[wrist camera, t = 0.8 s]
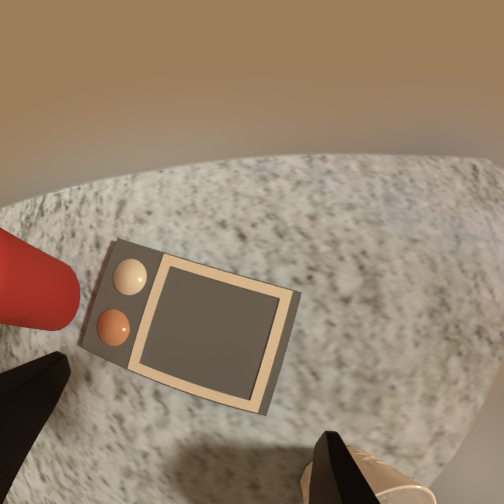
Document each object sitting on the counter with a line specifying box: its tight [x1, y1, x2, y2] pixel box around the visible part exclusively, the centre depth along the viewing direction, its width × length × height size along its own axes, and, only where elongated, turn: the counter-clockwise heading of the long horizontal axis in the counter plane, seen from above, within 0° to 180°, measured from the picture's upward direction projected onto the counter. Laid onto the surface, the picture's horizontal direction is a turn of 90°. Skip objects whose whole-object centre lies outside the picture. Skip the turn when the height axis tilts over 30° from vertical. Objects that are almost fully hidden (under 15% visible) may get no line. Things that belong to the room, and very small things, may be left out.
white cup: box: [300, 446, 436, 504], centre depth 14 cm, size 8×8×10 cm
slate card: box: [82, 238, 302, 416], centre depth 22 cm, size 10×16×1 cm, turn 74°
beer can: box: [0, 228, 80, 331], centre depth 17 cm, size 7×7×12 cm
